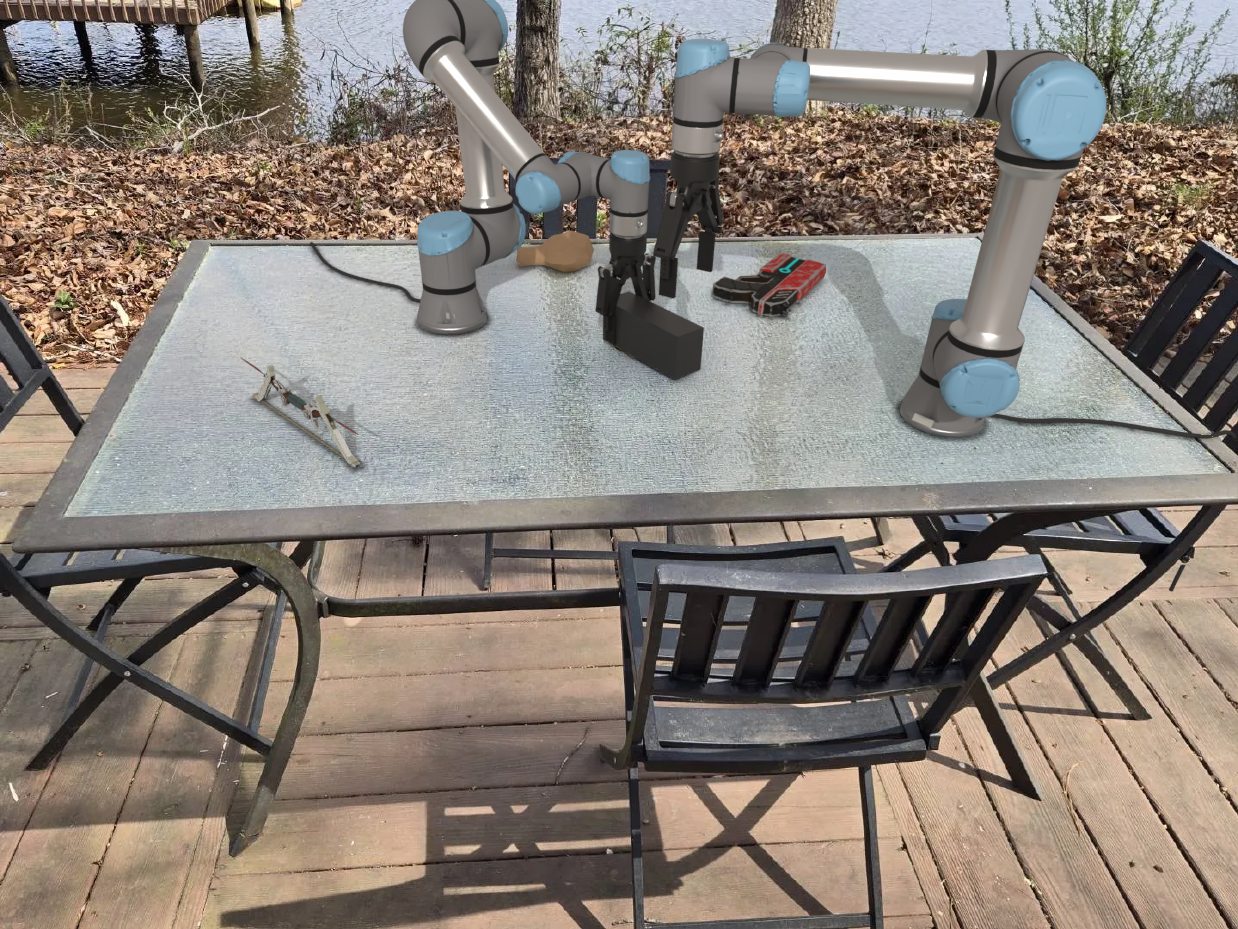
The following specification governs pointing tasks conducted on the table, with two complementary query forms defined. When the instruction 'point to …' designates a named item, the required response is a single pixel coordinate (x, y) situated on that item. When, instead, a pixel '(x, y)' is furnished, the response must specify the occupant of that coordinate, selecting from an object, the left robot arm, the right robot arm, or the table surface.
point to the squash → (559, 252)
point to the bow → (305, 411)
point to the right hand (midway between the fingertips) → (686, 282)
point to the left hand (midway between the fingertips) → (624, 337)
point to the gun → (772, 285)
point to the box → (657, 336)
